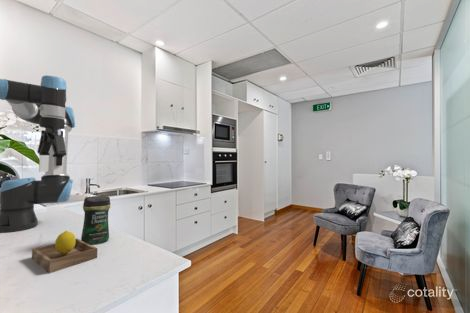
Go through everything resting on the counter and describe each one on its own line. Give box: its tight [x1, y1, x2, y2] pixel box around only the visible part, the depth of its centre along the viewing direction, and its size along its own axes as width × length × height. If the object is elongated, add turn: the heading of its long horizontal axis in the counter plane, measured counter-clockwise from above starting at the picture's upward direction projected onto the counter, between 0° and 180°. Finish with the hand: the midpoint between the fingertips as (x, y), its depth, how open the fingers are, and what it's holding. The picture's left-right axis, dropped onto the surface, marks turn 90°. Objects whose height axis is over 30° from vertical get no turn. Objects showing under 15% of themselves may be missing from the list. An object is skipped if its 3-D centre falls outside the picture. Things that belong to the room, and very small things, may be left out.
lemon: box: [54, 230, 77, 255], centre depth 75 cm, size 6×6×8 cm
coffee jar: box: [80, 195, 111, 246], centre depth 91 cm, size 10×8×19 cm
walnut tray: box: [31, 238, 98, 274], centre depth 75 cm, size 16×13×3 cm
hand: (50, 173), depth 86 cm, fingers open, 13 cm apart
